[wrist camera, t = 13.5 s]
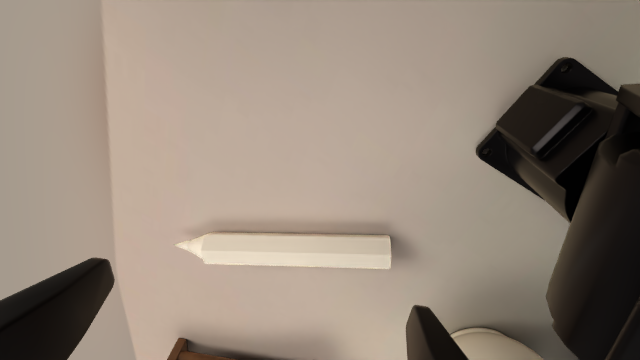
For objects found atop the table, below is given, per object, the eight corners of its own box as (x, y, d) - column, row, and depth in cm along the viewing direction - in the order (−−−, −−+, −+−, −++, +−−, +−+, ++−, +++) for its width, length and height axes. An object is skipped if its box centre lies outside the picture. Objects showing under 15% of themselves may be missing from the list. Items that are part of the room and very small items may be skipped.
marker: (183, 230, 25) (387, 234, 23) (183, 256, 25) (387, 262, 23) (163, 234, 22) (391, 239, 20) (162, 264, 22) (391, 271, 20)
